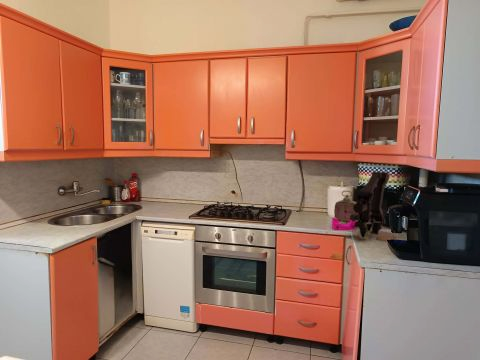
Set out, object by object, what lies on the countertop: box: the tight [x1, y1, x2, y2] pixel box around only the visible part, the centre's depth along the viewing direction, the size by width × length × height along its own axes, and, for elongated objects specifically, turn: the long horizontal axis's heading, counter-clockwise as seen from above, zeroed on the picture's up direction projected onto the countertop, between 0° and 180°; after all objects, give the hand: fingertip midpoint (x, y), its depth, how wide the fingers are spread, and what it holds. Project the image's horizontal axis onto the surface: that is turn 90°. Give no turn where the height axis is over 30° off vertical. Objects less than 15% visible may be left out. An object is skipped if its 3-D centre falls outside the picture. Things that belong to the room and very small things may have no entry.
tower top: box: [377, 228, 395, 238], centre depth 186 cm, size 7×7×3 cm
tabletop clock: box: [333, 190, 359, 227], centre depth 219 cm, size 14×9×25 cm, turn 58°
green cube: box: [358, 230, 371, 240], centre depth 189 cm, size 4×4×4 cm
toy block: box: [331, 217, 357, 232], centre depth 211 cm, size 15×6×8 cm, turn 86°
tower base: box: [375, 234, 398, 243], centre depth 186 cm, size 9×9×3 cm
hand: (364, 236), depth 190 cm, fingers open, 5 cm apart
